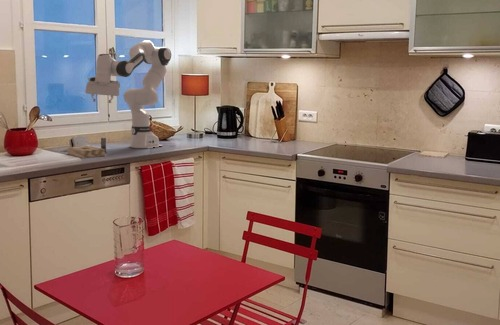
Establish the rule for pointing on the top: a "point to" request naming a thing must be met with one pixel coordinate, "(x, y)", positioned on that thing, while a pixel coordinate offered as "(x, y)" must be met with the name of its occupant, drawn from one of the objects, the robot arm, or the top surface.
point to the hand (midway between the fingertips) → (101, 102)
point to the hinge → (79, 141)
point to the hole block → (86, 151)
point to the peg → (103, 143)
